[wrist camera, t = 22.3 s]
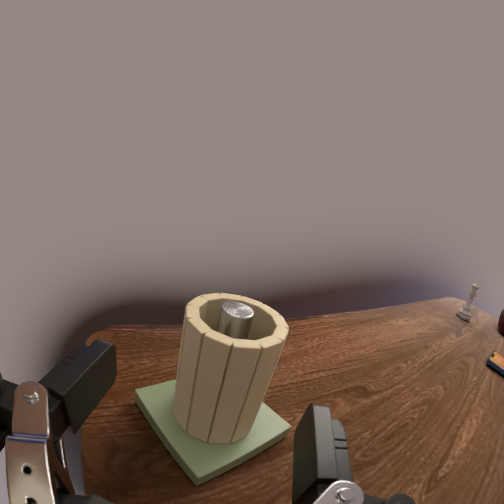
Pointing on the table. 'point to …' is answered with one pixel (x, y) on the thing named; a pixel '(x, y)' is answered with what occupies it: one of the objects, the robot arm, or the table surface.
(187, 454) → the stand
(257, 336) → the slatted wooden tube
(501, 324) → the vase
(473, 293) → the chess piece
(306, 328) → the table surface
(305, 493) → the robot arm
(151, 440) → the table surface
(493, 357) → the smartphone
